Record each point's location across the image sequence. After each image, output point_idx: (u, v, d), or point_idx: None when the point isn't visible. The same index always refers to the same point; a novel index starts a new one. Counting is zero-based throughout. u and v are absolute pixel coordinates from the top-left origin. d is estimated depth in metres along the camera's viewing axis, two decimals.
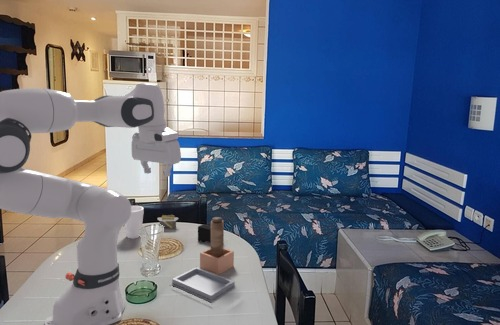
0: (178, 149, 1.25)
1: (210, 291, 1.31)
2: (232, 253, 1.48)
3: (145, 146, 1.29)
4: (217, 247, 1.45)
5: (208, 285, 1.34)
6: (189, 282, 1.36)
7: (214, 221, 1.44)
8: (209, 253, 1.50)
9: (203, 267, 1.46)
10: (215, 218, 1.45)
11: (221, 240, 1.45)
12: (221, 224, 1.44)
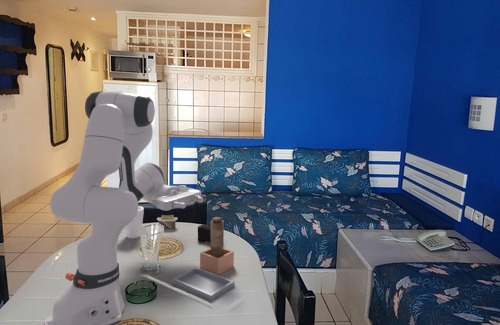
0: None
1: (210, 291, 1.31)
2: (232, 253, 1.48)
3: (171, 196, 1.54)
4: (217, 247, 1.45)
5: (208, 285, 1.34)
6: (189, 282, 1.36)
7: (214, 221, 1.44)
8: (209, 253, 1.50)
9: (203, 267, 1.46)
10: (215, 218, 1.45)
11: (221, 240, 1.45)
12: (221, 224, 1.44)
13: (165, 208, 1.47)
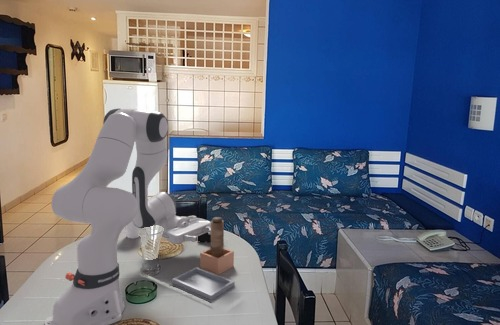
0: None
1: (210, 291, 1.31)
2: (232, 253, 1.48)
3: (181, 228, 1.53)
4: (217, 247, 1.45)
5: (208, 285, 1.34)
6: (189, 282, 1.36)
7: (214, 221, 1.44)
8: (209, 253, 1.50)
9: (203, 267, 1.46)
10: (215, 218, 1.45)
11: (221, 240, 1.45)
12: (221, 224, 1.44)
13: (176, 242, 1.45)
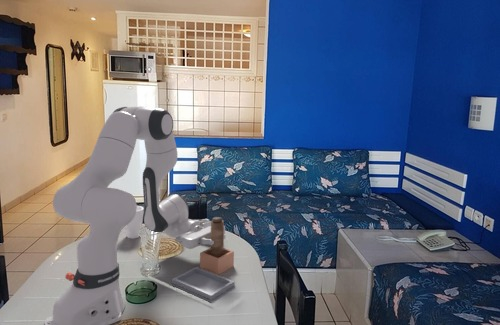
0: None
1: (210, 291, 1.31)
2: (232, 253, 1.48)
3: (195, 232, 1.49)
4: (217, 247, 1.45)
5: (208, 285, 1.34)
6: (189, 282, 1.36)
7: (214, 221, 1.44)
8: (209, 253, 1.50)
9: (203, 267, 1.46)
10: (215, 218, 1.45)
11: (221, 240, 1.45)
12: (221, 224, 1.44)
13: (190, 246, 1.41)
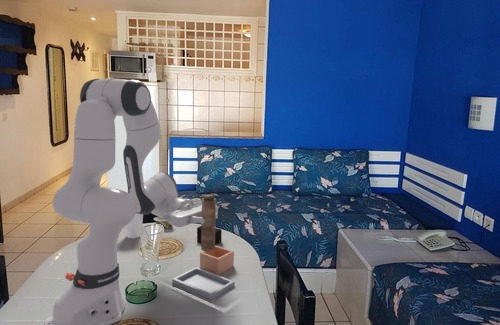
0: None
1: (210, 291, 1.31)
2: (232, 253, 1.48)
3: (185, 210, 1.39)
4: (208, 227, 1.34)
5: (208, 285, 1.34)
6: (189, 282, 1.36)
7: (205, 198, 1.33)
8: (209, 253, 1.50)
9: (203, 267, 1.46)
10: (207, 195, 1.35)
11: (213, 219, 1.34)
12: (213, 202, 1.33)
13: (179, 224, 1.30)
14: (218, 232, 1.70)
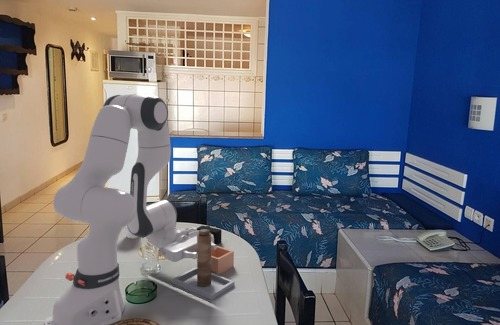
0: None
1: (210, 291, 1.31)
2: (232, 253, 1.48)
3: (180, 242, 1.36)
4: (203, 263, 1.32)
5: None
6: (189, 282, 1.36)
7: (201, 234, 1.31)
8: None
9: None
10: (202, 230, 1.32)
11: (208, 255, 1.32)
12: (208, 237, 1.31)
13: (174, 259, 1.28)
14: (218, 232, 1.69)
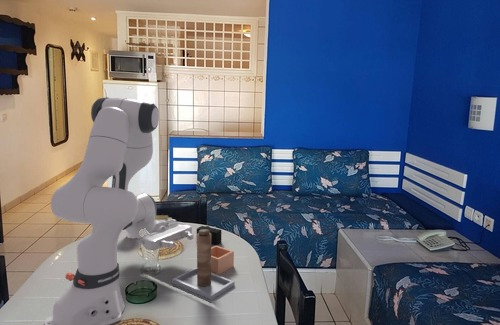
0: None
1: (210, 291, 1.31)
2: (232, 253, 1.48)
3: (159, 233, 1.45)
4: (203, 262, 1.32)
5: None
6: (189, 282, 1.36)
7: (201, 234, 1.31)
8: None
9: None
10: (202, 230, 1.32)
11: (208, 255, 1.32)
12: (208, 237, 1.31)
13: (152, 248, 1.37)
14: (218, 233, 1.69)
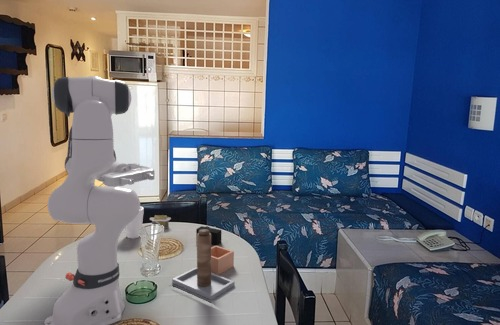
0: None
1: (210, 291, 1.31)
2: (232, 253, 1.48)
3: (120, 173, 1.47)
4: (203, 263, 1.32)
5: None
6: (189, 282, 1.36)
7: (200, 234, 1.31)
8: None
9: None
10: (202, 230, 1.32)
11: (208, 255, 1.32)
12: (208, 237, 1.31)
13: (111, 184, 1.39)
14: (218, 233, 1.69)
